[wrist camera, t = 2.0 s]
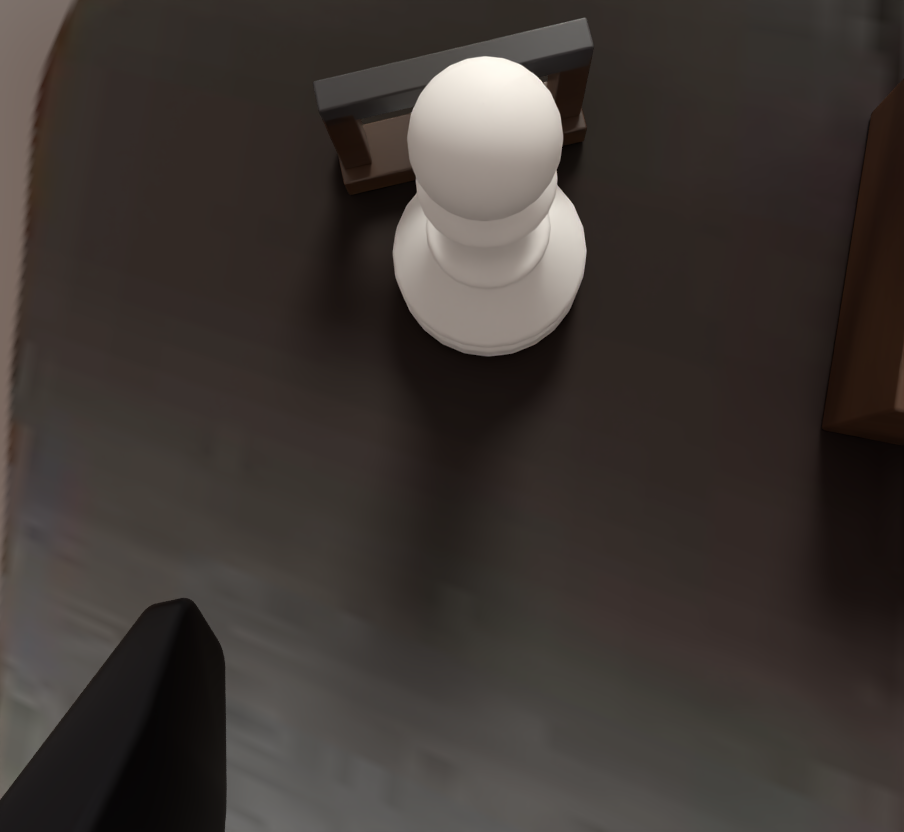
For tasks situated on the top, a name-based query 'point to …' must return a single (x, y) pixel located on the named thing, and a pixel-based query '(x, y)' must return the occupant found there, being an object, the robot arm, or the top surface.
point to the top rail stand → (874, 293)
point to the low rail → (400, 83)
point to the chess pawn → (487, 211)
